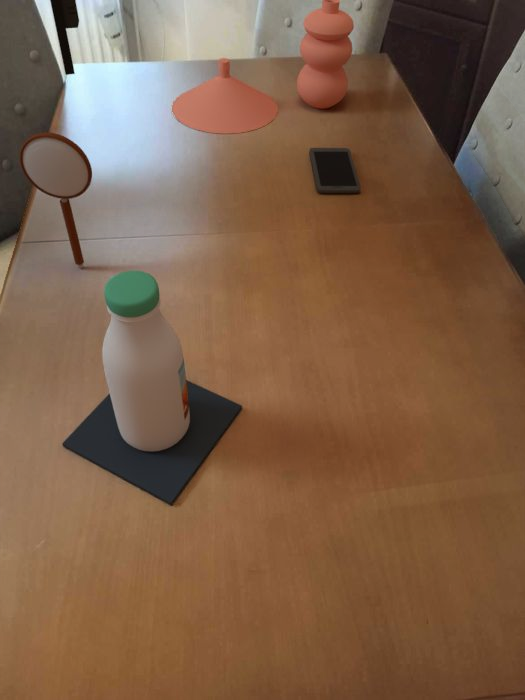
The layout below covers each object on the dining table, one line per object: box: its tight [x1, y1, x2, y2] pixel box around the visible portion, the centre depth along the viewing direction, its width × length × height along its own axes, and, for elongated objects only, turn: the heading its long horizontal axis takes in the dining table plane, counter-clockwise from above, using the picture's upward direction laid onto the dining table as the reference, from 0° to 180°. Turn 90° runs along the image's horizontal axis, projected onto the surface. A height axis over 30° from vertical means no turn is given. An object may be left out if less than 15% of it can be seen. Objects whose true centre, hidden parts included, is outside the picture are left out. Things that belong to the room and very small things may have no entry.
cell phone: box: [308, 147, 362, 194], centre depth 103 cm, size 7×14×1 cm, turn 3°
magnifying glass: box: [19, 132, 93, 269], centre depth 77 cm, size 9×2×20 cm, turn 85°
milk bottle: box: [101, 270, 190, 452], centre depth 58 cm, size 8×8×20 cm
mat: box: [61, 379, 243, 507], centre depth 66 cm, size 14×14×1 cm
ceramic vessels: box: [171, 0, 355, 135], centre depth 112 cm, size 35×21×19 cm, turn 100°
